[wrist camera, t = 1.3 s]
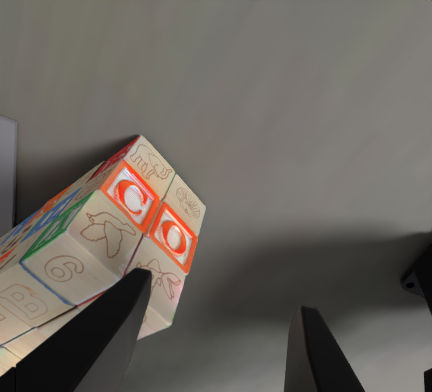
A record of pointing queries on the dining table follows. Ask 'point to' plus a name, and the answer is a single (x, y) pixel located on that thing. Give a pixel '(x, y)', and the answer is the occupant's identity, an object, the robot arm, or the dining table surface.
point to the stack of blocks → (98, 248)
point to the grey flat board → (7, 173)
